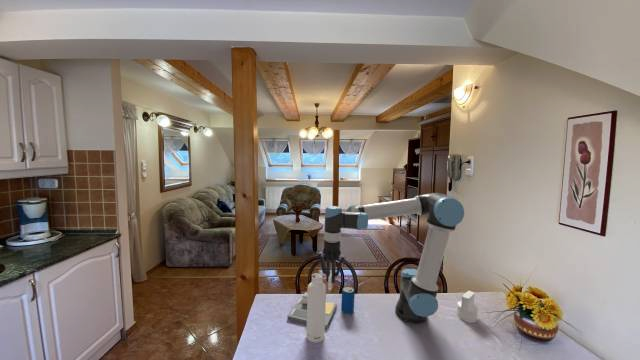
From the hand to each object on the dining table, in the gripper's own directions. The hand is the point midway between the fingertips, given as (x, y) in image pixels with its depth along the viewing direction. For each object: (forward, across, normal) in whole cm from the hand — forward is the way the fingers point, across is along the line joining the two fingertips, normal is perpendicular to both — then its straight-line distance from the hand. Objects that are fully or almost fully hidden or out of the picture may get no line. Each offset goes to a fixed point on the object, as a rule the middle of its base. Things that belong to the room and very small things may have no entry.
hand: (330, 288), depth 122 cm
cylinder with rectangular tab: (+18, -64, -30) cm, 73 cm away
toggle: (+15, +15, -10) cm, 24 cm away
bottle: (+18, +3, +10) cm, 21 cm away
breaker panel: (+18, +10, -5) cm, 21 cm away
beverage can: (+18, -6, -13) cm, 23 cm away
